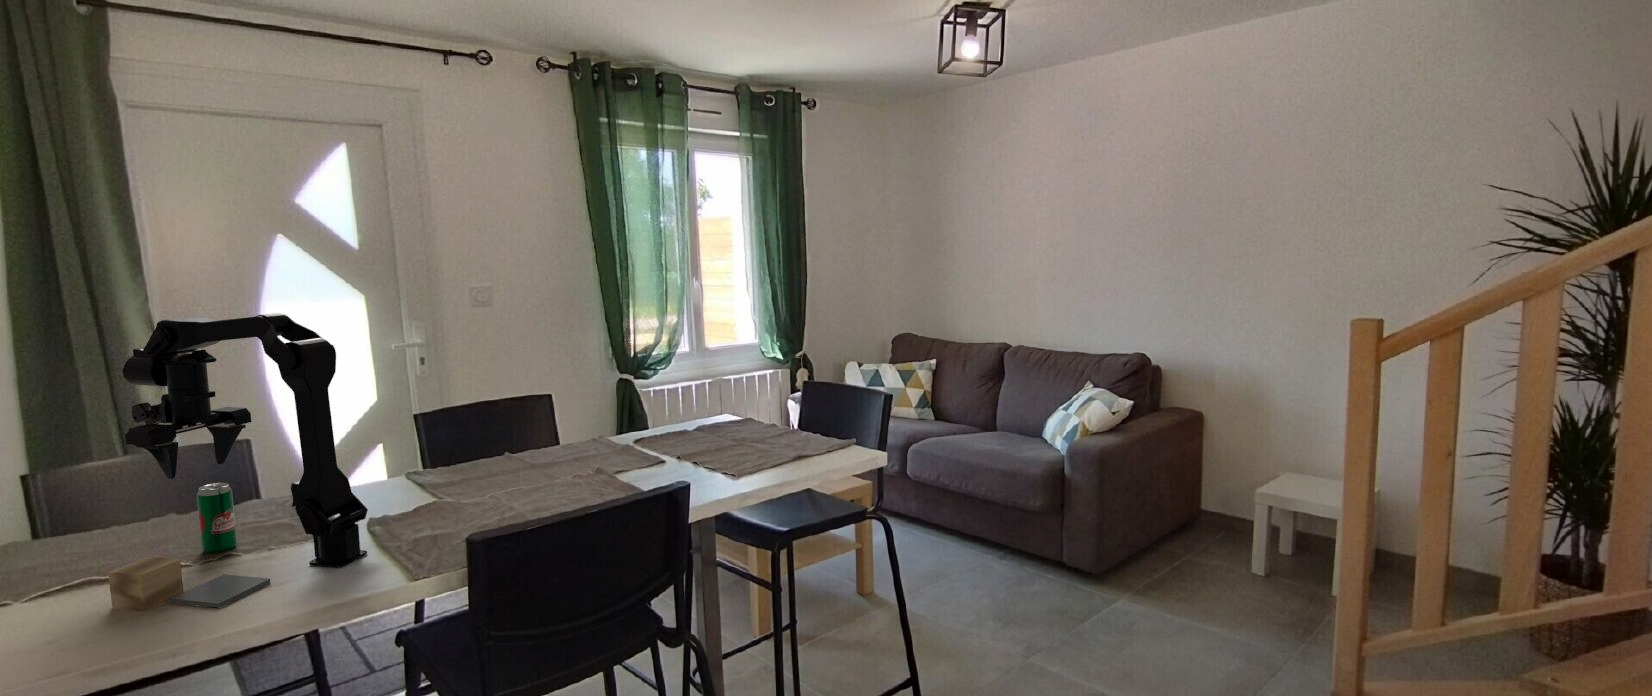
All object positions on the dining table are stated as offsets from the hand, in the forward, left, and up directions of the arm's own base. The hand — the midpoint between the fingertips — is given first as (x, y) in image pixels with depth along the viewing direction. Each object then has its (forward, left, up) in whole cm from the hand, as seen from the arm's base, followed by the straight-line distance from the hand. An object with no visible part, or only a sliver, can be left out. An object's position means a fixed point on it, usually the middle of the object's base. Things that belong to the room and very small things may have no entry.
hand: (196, 471), depth 138 cm
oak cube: (-12, +19, -15) cm, 27 cm away
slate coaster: (-20, +15, -15) cm, 29 cm away
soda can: (-3, 0, -15) cm, 15 cm away
